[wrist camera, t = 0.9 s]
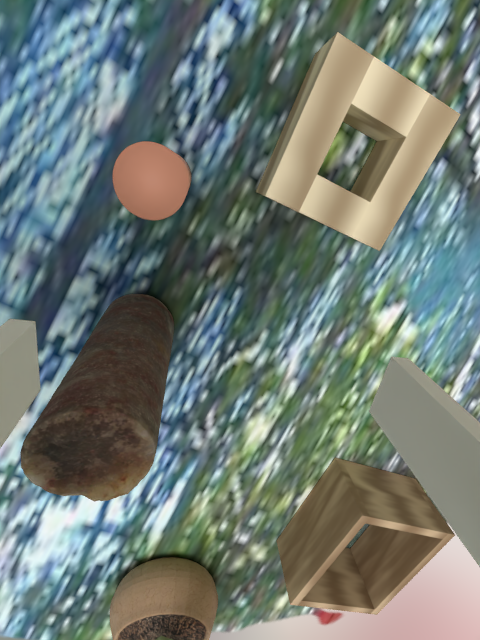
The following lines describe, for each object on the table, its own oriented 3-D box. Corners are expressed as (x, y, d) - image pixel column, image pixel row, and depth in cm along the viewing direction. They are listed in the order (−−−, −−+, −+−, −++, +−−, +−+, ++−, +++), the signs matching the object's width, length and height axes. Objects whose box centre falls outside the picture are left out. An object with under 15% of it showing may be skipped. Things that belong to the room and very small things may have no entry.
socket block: (255, 191, 32) (265, 195, 28) (315, 53, 28) (337, 32, 24) (356, 240, 36) (379, 250, 31) (422, 121, 32) (460, 114, 27)
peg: (141, 188, 31) (104, 202, 19) (155, 143, 30) (124, 127, 17) (182, 205, 32) (173, 231, 20) (197, 164, 31) (198, 162, 18)
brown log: (133, 273, 34) (62, 392, 16) (189, 314, 37) (182, 455, 19) (92, 326, 36) (-13, 485, 18) (149, 361, 39) (107, 531, 21)
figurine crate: (276, 540, 56) (290, 604, 47) (334, 457, 49) (362, 515, 41) (352, 553, 60) (376, 614, 52) (415, 478, 53) (454, 534, 45)
